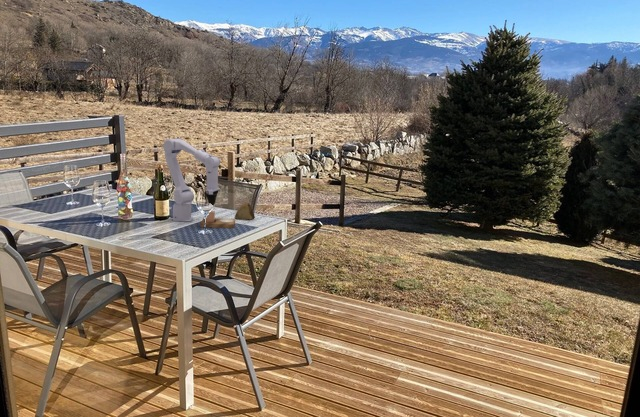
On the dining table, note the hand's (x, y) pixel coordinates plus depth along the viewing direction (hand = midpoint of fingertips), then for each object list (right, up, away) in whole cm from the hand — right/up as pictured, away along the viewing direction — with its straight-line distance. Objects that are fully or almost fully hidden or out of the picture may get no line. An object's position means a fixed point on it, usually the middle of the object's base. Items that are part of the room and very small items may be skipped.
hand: (212, 205), depth 249 cm
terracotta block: (-1, -10, +2) cm, 10 cm away
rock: (+14, -8, +18) cm, 24 cm away
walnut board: (+3, -10, +2) cm, 11 cm away
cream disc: (+7, -8, +2) cm, 11 cm away
